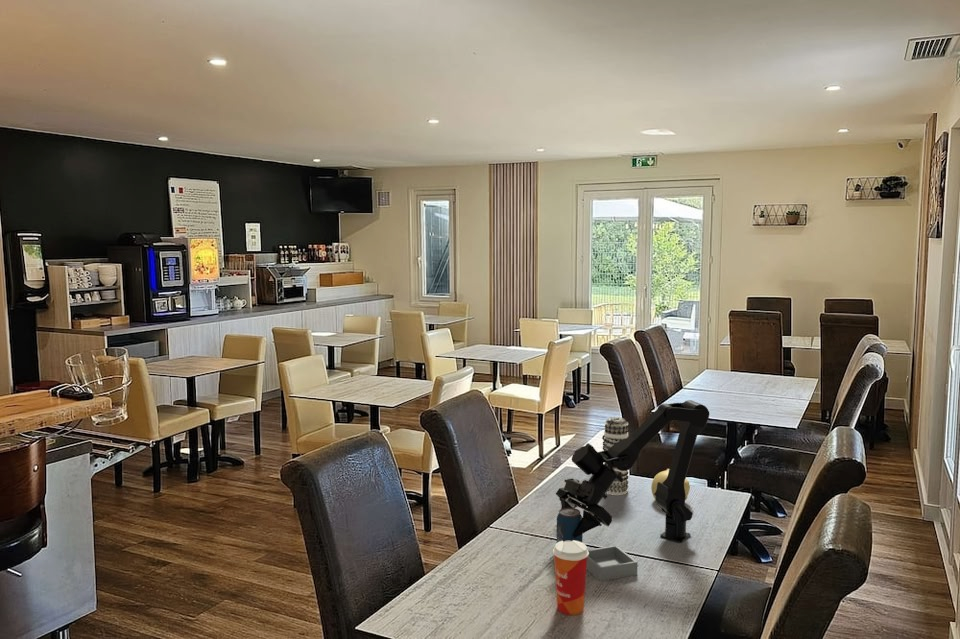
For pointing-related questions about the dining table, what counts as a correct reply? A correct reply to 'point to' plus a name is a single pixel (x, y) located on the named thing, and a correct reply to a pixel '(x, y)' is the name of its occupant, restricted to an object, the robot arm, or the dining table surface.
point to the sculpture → (662, 477)
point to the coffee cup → (570, 576)
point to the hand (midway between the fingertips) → (565, 532)
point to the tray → (610, 563)
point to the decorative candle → (612, 434)
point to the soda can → (568, 524)
